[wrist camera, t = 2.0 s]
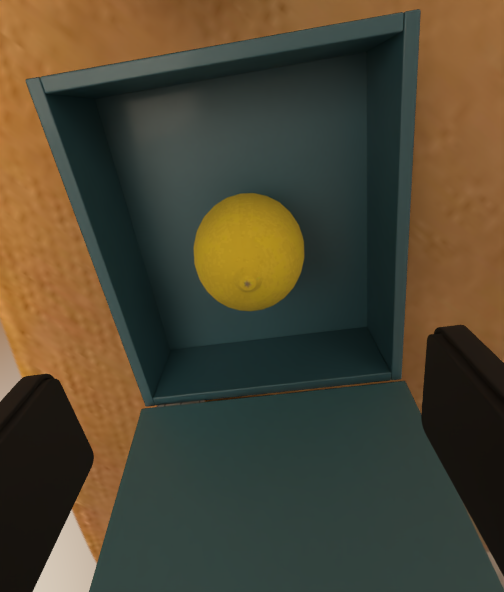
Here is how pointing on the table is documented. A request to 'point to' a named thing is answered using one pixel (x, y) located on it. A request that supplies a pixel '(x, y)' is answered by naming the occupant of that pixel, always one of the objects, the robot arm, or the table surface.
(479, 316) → the table surface
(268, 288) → the lemon
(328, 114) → the chest
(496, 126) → the table surface
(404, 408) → the lid
